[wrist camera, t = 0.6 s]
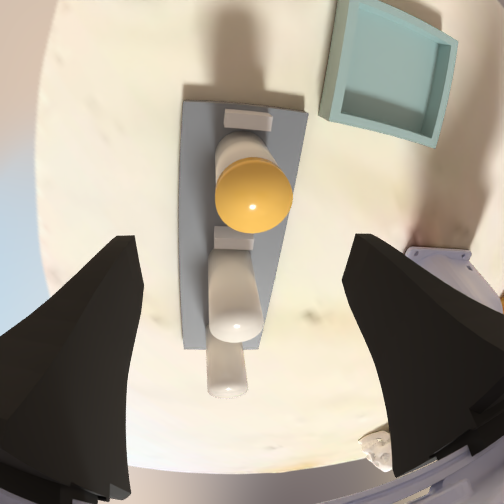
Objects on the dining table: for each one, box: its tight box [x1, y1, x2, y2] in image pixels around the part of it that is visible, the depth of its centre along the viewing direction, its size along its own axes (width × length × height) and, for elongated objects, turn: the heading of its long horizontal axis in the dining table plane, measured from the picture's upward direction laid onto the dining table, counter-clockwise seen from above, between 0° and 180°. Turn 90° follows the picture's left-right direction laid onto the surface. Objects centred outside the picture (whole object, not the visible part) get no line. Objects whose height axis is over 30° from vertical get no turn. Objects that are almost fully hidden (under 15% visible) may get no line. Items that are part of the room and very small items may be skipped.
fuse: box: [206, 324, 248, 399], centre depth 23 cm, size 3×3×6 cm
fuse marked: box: [215, 131, 293, 233], centre depth 14 cm, size 3×3×6 cm
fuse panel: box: [179, 100, 308, 350], centre depth 21 cm, size 7×21×2 cm, turn 173°
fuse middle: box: [208, 249, 264, 343], centre depth 18 cm, size 3×3×6 cm
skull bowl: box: [358, 431, 392, 472], centre depth 58 cm, size 10×14×12 cm
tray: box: [318, 0, 458, 149], centre depth 14 cm, size 8×8×2 cm
